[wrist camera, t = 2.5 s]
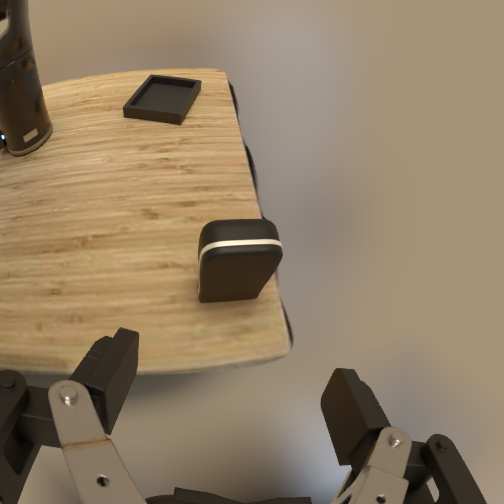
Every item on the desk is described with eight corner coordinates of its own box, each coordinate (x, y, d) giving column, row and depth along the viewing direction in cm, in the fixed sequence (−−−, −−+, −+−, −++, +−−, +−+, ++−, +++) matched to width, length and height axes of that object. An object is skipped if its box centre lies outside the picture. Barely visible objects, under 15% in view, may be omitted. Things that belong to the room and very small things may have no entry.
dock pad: (123, 117, 44) (122, 107, 42) (150, 83, 50) (150, 74, 48) (180, 124, 45) (181, 114, 43) (200, 89, 51) (201, 80, 49)
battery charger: (253, 268, 35) (281, 210, 25) (259, 298, 33) (291, 250, 23) (194, 272, 33) (198, 212, 23) (197, 304, 31) (201, 254, 22)
